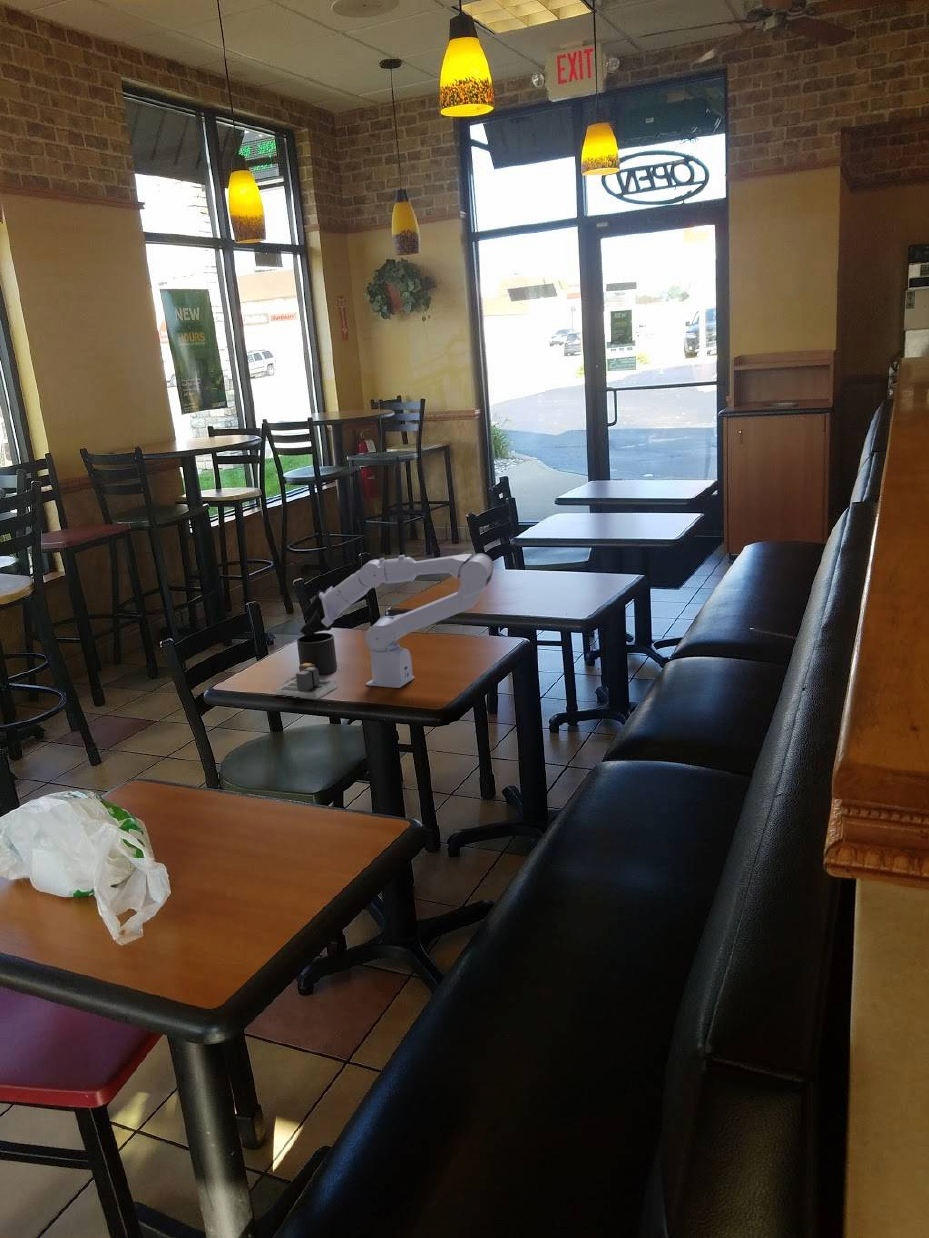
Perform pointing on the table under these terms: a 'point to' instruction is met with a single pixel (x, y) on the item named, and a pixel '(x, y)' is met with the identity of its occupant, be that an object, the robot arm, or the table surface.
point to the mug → (318, 652)
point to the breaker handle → (305, 666)
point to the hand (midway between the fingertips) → (304, 624)
